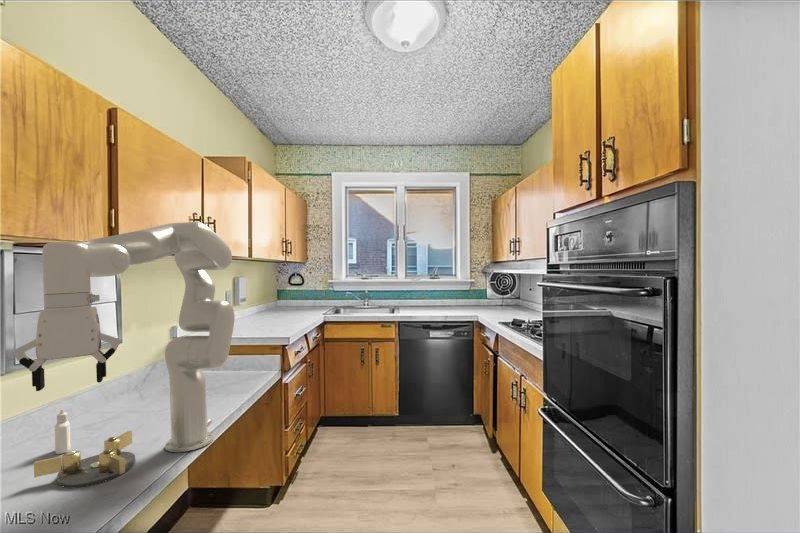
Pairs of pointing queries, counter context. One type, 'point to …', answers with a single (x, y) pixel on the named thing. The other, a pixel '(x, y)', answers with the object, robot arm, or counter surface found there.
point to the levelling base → (92, 472)
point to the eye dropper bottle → (62, 433)
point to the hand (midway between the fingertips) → (71, 385)
